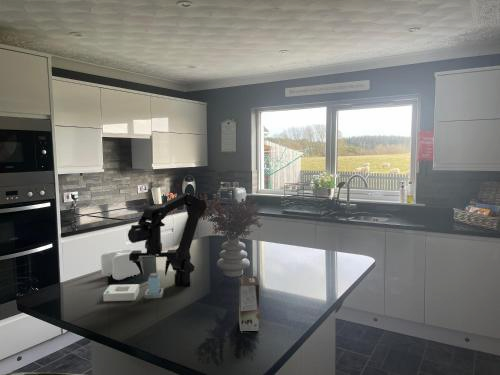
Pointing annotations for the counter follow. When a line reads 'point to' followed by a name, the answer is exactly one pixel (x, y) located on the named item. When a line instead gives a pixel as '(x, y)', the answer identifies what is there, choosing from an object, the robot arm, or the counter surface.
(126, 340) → the counter surface
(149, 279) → the plug
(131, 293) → the port panel
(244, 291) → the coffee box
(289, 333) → the counter surface
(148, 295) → the gray square frame
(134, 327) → the counter surface
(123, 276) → the cable organizer
